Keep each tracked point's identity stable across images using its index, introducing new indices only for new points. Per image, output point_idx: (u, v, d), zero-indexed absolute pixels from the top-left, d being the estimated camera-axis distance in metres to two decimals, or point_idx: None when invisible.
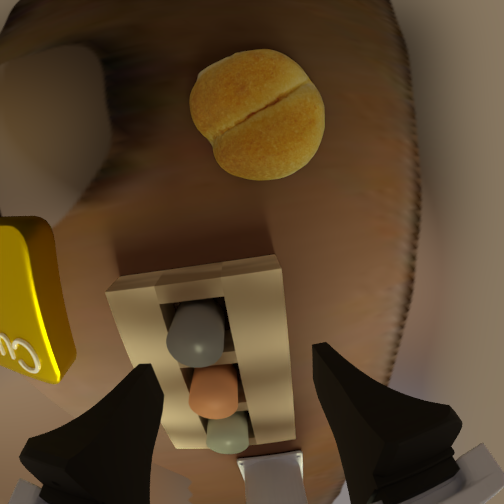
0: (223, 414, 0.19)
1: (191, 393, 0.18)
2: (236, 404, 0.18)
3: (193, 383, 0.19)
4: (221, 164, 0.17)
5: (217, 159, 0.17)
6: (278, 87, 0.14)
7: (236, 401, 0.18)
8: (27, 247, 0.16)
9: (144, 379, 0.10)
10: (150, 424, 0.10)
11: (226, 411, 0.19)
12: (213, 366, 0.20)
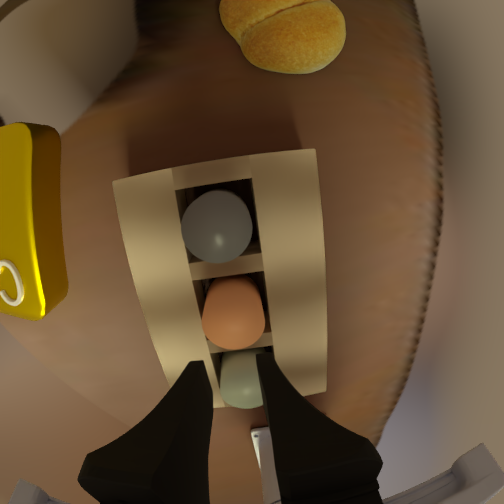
0: (245, 341, 0.16)
1: (206, 307, 0.16)
2: (263, 323, 0.16)
3: (208, 298, 0.17)
4: (250, 54, 0.15)
5: (246, 51, 0.15)
6: None
7: (263, 318, 0.16)
8: (32, 141, 0.13)
9: (200, 377, 0.10)
10: (206, 424, 0.10)
11: (249, 334, 0.16)
12: (233, 279, 0.18)
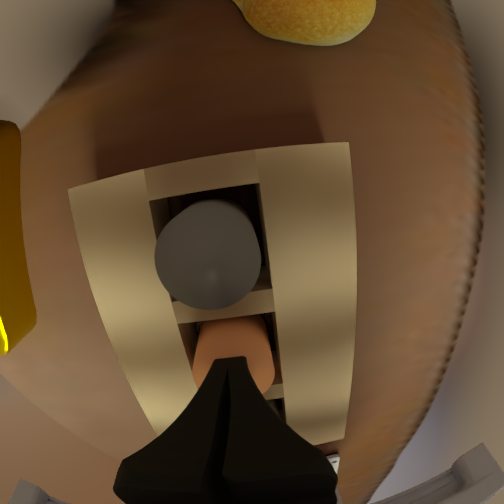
0: None
1: (197, 355, 0.11)
2: (272, 374, 0.12)
3: (201, 341, 0.12)
4: (255, 18, 0.10)
5: (249, 14, 0.10)
6: None
7: (272, 368, 0.12)
8: None
9: (228, 374, 0.10)
10: None
11: None
12: None
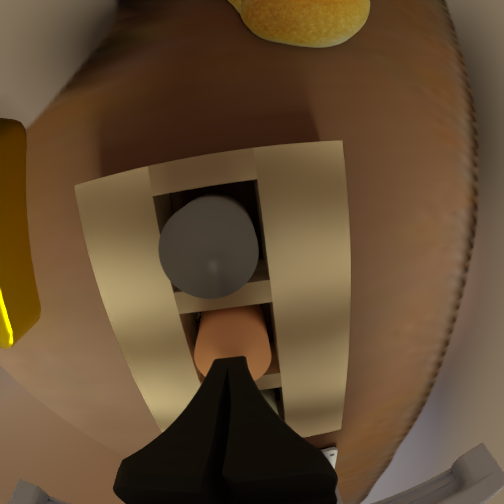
0: None
1: (199, 339, 0.12)
2: (268, 357, 0.13)
3: (202, 326, 0.13)
4: (252, 21, 0.10)
5: (247, 17, 0.10)
6: None
7: (269, 352, 0.13)
8: None
9: (228, 374, 0.10)
10: None
11: (252, 370, 0.13)
12: None
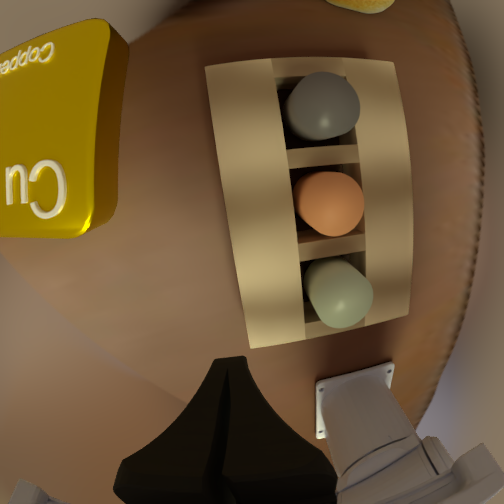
0: (345, 225, 0.16)
1: (309, 185, 0.15)
2: (362, 205, 0.15)
3: (306, 183, 0.16)
4: None
5: None
6: None
7: (363, 199, 0.15)
8: (110, 31, 0.12)
9: (228, 374, 0.10)
10: None
11: (349, 218, 0.15)
12: (324, 171, 0.17)
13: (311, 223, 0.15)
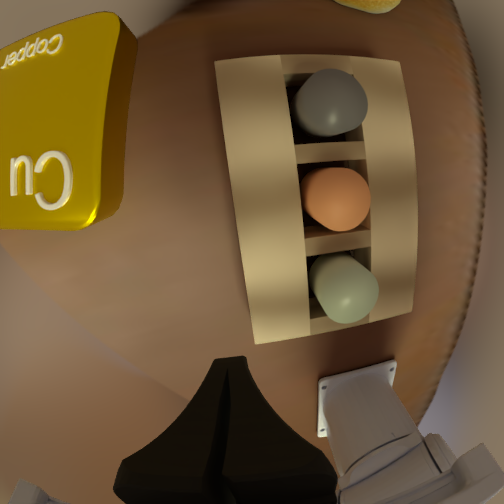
0: (352, 221, 0.16)
1: (317, 180, 0.15)
2: (369, 201, 0.15)
3: (313, 178, 0.16)
4: None
5: None
6: None
7: (369, 195, 0.15)
8: (120, 25, 0.12)
9: (228, 374, 0.10)
10: None
11: (356, 213, 0.15)
12: None
13: (318, 218, 0.15)
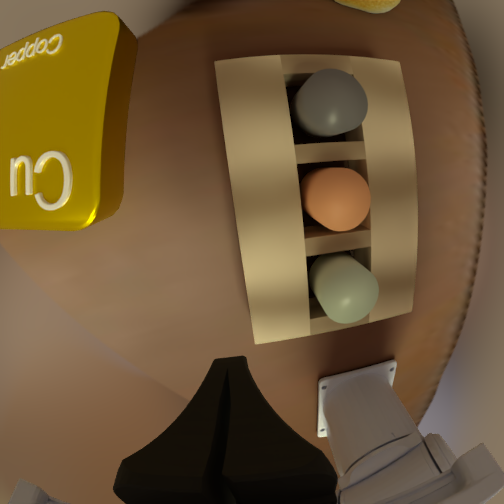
0: (352, 221, 0.16)
1: (317, 180, 0.15)
2: (369, 201, 0.15)
3: (313, 178, 0.16)
4: None
5: None
6: None
7: (369, 195, 0.15)
8: (119, 24, 0.12)
9: (228, 374, 0.10)
10: None
11: (356, 213, 0.15)
12: None
13: (318, 218, 0.15)
